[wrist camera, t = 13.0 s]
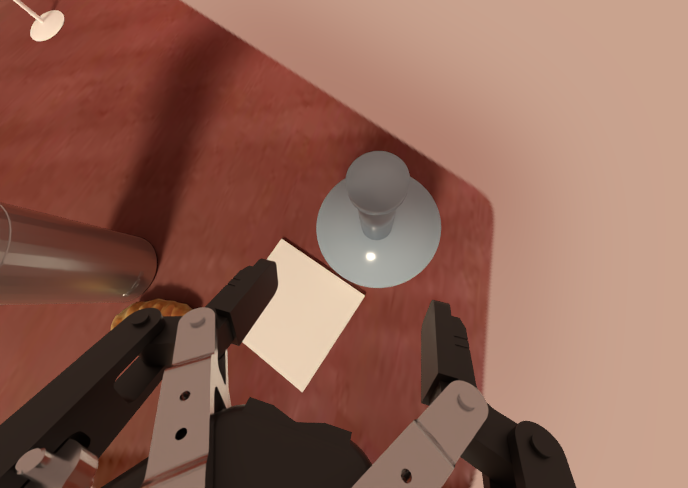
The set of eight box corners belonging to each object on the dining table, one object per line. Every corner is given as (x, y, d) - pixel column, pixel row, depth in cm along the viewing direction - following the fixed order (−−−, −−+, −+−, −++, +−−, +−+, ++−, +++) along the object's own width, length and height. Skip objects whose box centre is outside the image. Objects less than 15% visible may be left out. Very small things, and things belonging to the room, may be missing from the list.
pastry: (200, 292, 33) (177, 291, 29) (202, 345, 31) (178, 352, 28) (136, 304, 34) (106, 305, 30) (135, 356, 32) (103, 364, 28)
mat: (222, 323, 31) (221, 323, 31) (282, 239, 33) (281, 238, 32) (303, 391, 28) (302, 392, 28) (365, 295, 30) (365, 295, 29)
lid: (297, 245, 26) (242, 210, 15) (360, 155, 27) (350, 66, 17) (396, 313, 23) (412, 326, 13) (461, 210, 24) (524, 145, 14)
